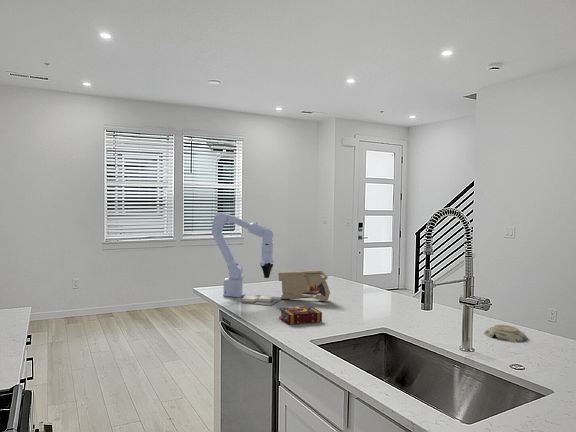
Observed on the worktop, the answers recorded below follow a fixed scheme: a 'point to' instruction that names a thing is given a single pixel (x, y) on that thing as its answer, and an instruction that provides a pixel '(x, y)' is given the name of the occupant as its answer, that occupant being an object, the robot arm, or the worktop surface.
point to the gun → (303, 284)
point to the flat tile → (250, 299)
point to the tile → (265, 299)
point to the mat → (275, 300)
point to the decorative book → (300, 315)
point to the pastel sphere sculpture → (312, 289)
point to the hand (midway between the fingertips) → (266, 277)
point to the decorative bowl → (506, 333)
